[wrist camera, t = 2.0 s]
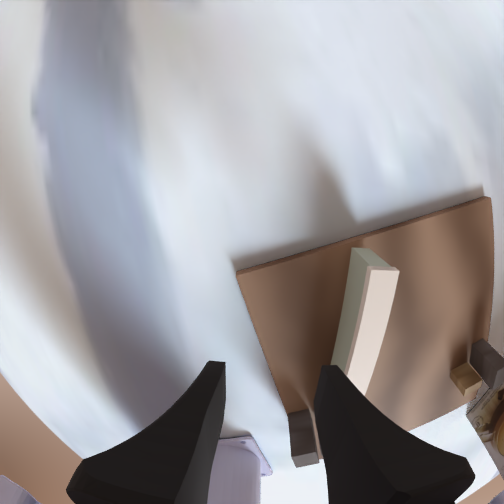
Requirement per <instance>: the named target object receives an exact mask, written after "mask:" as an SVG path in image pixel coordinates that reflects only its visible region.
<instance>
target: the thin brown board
mask: <svg viewBox="0 0 504 504" xmlns="http://www.w3.org/2000/svg"><path fill="white" fill-rule="evenodd" d="M352 247H353V248H370V249H371V250H372V251H373V252H374V253H376V254H377V255H378V256H379V257H380V258H382V259H383V260H384V261H385V262H386V263H388V264H389V265H390V266H391V267H395V268H397V269H398V270H399V276H398V281H397V286H396V290H395V295H394V299H393V303H392V307H391V312H390V316H389V319H388V323H387V327H386V331H385V334H384V338H383V341H382V345H381V348H380V352H379V355H378V358H377V361H376V364H375V367H374V371H373V374H372V377H371V379H370V382H369V385H368V388H367V391H366V394H365V397H366V398H367V399H368V400H369V401H370V402H371V403H372V404H373V405H374V406H375V407H376V408H377V409H378V410H380V411H381V412H382V413H383V414H384V415H385V416H387V417H388V418H389V419H390V420H392V421H393V422H394V423H396V424H397V425H398V426H400V427H401V428H403V429H404V430H406V431H410V430H412V429H414V428H417V427H419V426H421V425H424V424H426V423H428V422H430V421H432V420H435V419H437V418H439V417H441V416H443V415H445V414H447V413H449V412H451V411H453V410H455V409H457V408H459V407H460V406H462V405H464V404H466V403H468V402H470V401H471V400H473V399H475V398H476V395H477V391H478V389H479V388H480V387H481V384H482V379H483V380H484V381H485V382H486V383H487V385H488V386H489V387H490V388H491V389H492V390H494V389H495V388H497V387H498V386H500V385H501V384H503V382H504V358H503V357H502V356H501V355H500V354H499V353H498V352H497V351H496V350H495V349H494V348H493V347H491V346H490V345H489V344H488V343H487V342H488V336H489V328H490V320H491V311H492V300H493V284H494V230H493V214H492V203H491V198H490V197H486V196H484V197H481V198H478V199H475V200H472V201H469V202H466V203H462V204H459V205H456V206H453V207H450V208H447V209H444V210H440V211H437V212H434V213H431V214H428V215H424V216H421V217H418V218H415V219H412V220H408V221H405V222H402V223H399V224H395V225H392V226H389V227H386V228H382V229H379V230H376V231H373V232H369V233H366V234H363V235H359V236H356V237H353V238H349V239H346V240H343V241H339V242H336V243H333V244H329V245H326V246H323V247H319V248H316V249H313V250H309V251H306V252H302V253H299V254H296V255H292V256H289V257H285V258H282V259H278V260H275V261H272V262H268V263H265V264H261V265H258V266H254V267H251V268H247V269H244V270H240V271H237V272H236V278H237V281H238V284H239V287H240V289H241V292H242V295H243V298H244V301H245V303H246V306H247V309H248V312H249V314H250V317H251V320H252V323H253V325H254V328H255V331H256V334H257V336H258V339H259V342H260V344H261V347H262V350H263V352H264V355H265V358H266V361H267V363H268V366H269V368H270V371H271V374H272V376H273V379H274V382H275V384H276V387H277V390H278V392H279V395H280V397H281V400H282V403H283V405H284V408H285V410H286V413H287V416H288V421H289V433H290V445H291V457H292V459H293V462H294V464H295V466H296V468H297V467H302V466H307V465H312V464H317V463H319V459H323V456H322V455H321V450H320V445H319V439H318V433H317V428H316V423H315V414H314V402H313V401H314V397H315V393H316V389H317V385H318V380H319V376H320V371H321V367H322V365H330V364H331V360H332V356H333V351H334V347H335V342H336V337H337V332H338V327H339V322H340V317H341V312H342V306H343V301H344V295H345V289H346V283H347V277H348V270H349V264H350V256H351V249H352ZM481 377H482V379H481Z"/></svg>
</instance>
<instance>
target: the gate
mask: <svg viewBox="0 0 504 504" xmlns="http://www.w3.org/2000/svg"><path fill="white" fill-rule="evenodd" d="M398 276H399V270H398V269H397V268H395V267H391V266H390V265H389V264H388V263H386V262H385V261H384V260H383V259H382V258H380V257H379V256H378V255H377V254H376V253H374V252H373V251H372V250H371V249H370V248H353V247H352V249H351V256H350V264H349V270H348V277H347V283H346V289H345V295H344V301H343V306H342V312H341V317H340V322H339V327H338V332H337V337H336V342H335V347H334V351H333V356H332V360H331V364H330V365H337V366H338V367H339V368H340V369H341V370H342V371H343V372H344V374H345V375H346V376H347V377H348V378H349V379H350V381H351V382H352V383H353V384H354V385H355V386H356V387H357V389H358V390H359V391H360V392H361V393H362V394H363V395H364V396H365V394H366V391H367V388H368V385H369V382H370V379H371V377H372V374H373V371H374V367H375V364H376V361H377V358H378V355H379V352H380V348H381V345H382V341H383V338H384V334H385V331H386V327H387V323H388V319H389V316H390V312H391V307H392V303H393V299H394V295H395V290H396V286H397V281H398ZM317 433H318V432H317ZM318 439H319V437H318ZM319 445H320V441H319ZM320 450H321V445H320ZM321 455H322V456H323V454H322V450H321Z"/></svg>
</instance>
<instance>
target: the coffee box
mask: <svg viewBox="0 0 504 504" xmlns="http://www.w3.org/2000/svg"><path fill="white" fill-rule="evenodd" d="M466 417H467V418H468V420H469V421H470V423H471V424H472V426H473V428H474V429H475V431H476V432H477V434H478V436H479V437H480V439H481V441H482V442H483V444H484V446H485V447H486V449H487V451H488V453H489V454H490V456H491V458H492V460H493V461H494V463H495V465H496V467H497V469H498V470H499V472H500V474H501V476H502V478H503V479H504V382H503V384H501V385H500V386H498V387H497V388H495V389H494V390H492V389H491V388H490V389H489V390H488V391H487V392H486V393H485V395H484V396H483V397H482V398H481V399H480V401H479V402H478V403H477V404H476V405H475V406H474V408H473V409H472V410H471V411H470V412H469V413H468V414H467V416H466Z"/></svg>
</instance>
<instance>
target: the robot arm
mask: <svg viewBox="0 0 504 504" xmlns="http://www.w3.org/2000/svg"><path fill="white" fill-rule="evenodd" d="M225 401H226V376H225V362H218V361H209V362H207V363H206V365H205V367H204V368H203V370H202V371H201V373H200V374H199V375H198V377H197V378H196V379H195V381H194V382H193V383H192V384H191V386H190V387H189V388H188V389H187V390H186V392H185V393H184V394H183V395H182V396H181V397H180V398H179V399H178V400H177V401H176V402H175V403H174V404H173V405H172V407H171V408H169V409H168V410H167V411H166V412H165V413H164V414H163V415H162V416H161V417H159V418H158V419H157V420H156V421H155V422H153V423H152V424H151V425H149V426H148V427H146V428H145V429H144V430H142V431H141V432H139V433H138V434H136V435H135V436H133V437H132V438H130V439H128V440H126V441H124V442H122V443H121V444H119V445H117V446H115V447H113V448H111V449H109V450H107V451H104V452H102V453H99V454H97V455H94V456H92V457H89V458H86V459H83V461H82V462H81V463H80V465H79V466H78V467H77V469H76V471H75V472H74V474H73V476H72V478H71V480H70V482H69V484H68V486H67V489H66V492H67V494H68V496H69V497H70V498H71V500H72V501H73V502H74V503H75V504H260V494H261V477H262V476H270V475H272V470H271V468H270V466H269V465H268V463H267V461H266V460H265V458H264V456H263V454H262V453H261V451H260V449H259V447H258V446H257V444H256V442H255V440H254V439H253V438H252V437H250V436H246V437H238V438H231V439H222V440H219V436H220V432H221V428H222V424H223V418H224V410H225ZM313 402H314V414H315V423H316V428H317V432H318V437H319V441H320V445H321V450H322V454H323V459H324V463H325V468H326V474H327V485H328V498H329V504H455V502H454V501H455V500H456V499H457V498H458V497H459V496H461V495H462V494H463V493H464V492H465V491H466V490H467V489H468V488H469V487H470V486H471V484H472V483H473V481H474V479H475V474H474V472H473V470H472V468H471V466H470V464H469V462H468V461H467V459H466V458H465V457H462V456H459V455H456V454H453V453H450V452H447V451H444V450H442V449H440V448H437V447H435V446H433V445H431V444H428V443H427V442H425V441H423V440H421V439H419V438H417V437H416V436H414V435H412V434H410V433H409V432H407V431H406V430H404V429H403V428H401V427H400V426H398V425H397V424H396V423H394V422H393V421H392V420H390V419H389V418H388V417H387V416H385V415H384V414H383V413H382V412H381V411H380V410H378V409H377V408H376V407H375V406H374V405H373V404H372V403H371V402H370V401H369V400H368V399H367V398H366V397H365V396H364V395H363V394H362V393H361V392H360V391H359V390H358V389H357V387H356V386H355V385H354V384H353V383H352V382H351V381H350V379H349V378H348V377H347V376H346V375H345V374H344V372H343V371H342V370H341V369H340V368H339V367H338V366H337V365H322V367H321V371H320V376H319V380H318V385H317V389H316V393H315V397H314V401H313ZM0 504H41V503H39V502H37V501H36V499H35V498H34V497H33V496H32V495H31V494H30V493H29V492H27V491H26V490H25V489H23V488H22V487H20V486H19V485H17V484H15V483H14V482H12V481H11V480H10V479H8V478H6V477H5V476H4V475H0ZM488 504H504V490H503V491H502V492H501V493H499V494H498V495H497V496H496V497H494V498H493V499H492V500H491V501H490V503H488Z"/></svg>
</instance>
